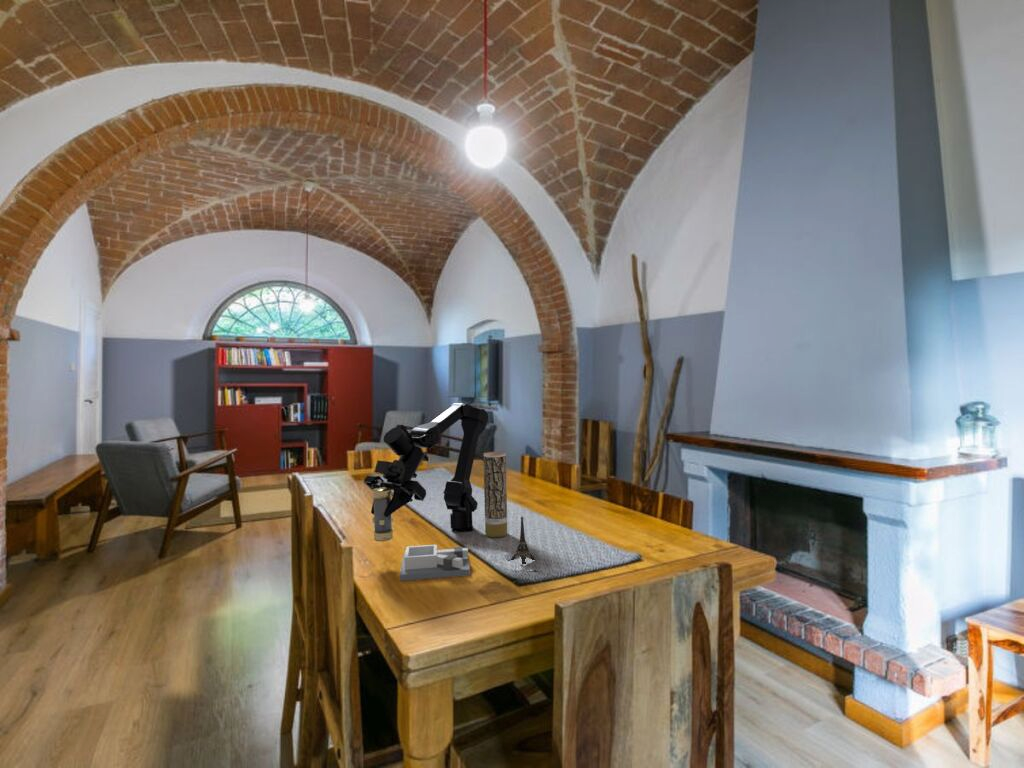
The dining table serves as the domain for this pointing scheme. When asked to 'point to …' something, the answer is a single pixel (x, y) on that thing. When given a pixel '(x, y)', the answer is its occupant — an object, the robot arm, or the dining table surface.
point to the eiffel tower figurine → (522, 546)
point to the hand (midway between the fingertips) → (378, 514)
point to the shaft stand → (433, 563)
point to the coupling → (382, 514)
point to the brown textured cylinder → (495, 494)
